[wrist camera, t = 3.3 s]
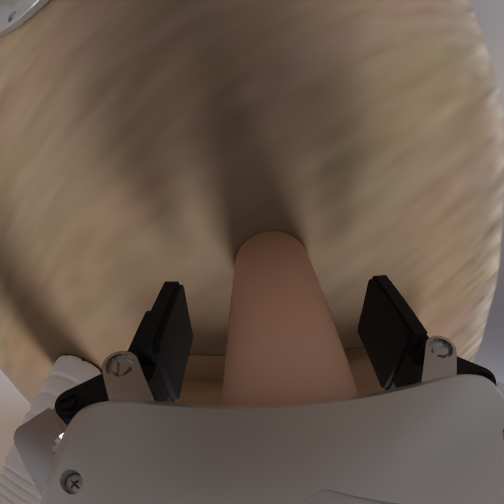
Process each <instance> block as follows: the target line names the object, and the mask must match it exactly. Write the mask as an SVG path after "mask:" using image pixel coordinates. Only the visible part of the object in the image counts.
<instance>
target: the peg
mask: <svg viewBox="0 0 504 504" xmlns="http://www.w3.org/2000/svg"><path fill="white" fill-rule="evenodd" d="M357 395H359V394H358V390H357V387H356V384H355V381H354V378H353V375H352V372H351V369H350V366H349V363H348V360H347V358H346V355H345V352H344V349H343V346H342V343H341V340H340V338H339V335H338V332H337V329H336V327H335V324H334V321H333V318H332V316H331V313H330V310H329V308H328V305H327V302H326V300H325V297H324V295H323V292H322V289H321V287H320V284H319V282H318V279H317V277H316V274H315V272H314V269H313V267H312V264H311V262H310V259H309V257H308V254H307V252H306V250H305V248H304V246H303V245H302V244H301V242H300V241H299V240H297V239H296V238H295V237H293V236H292V235H290V234H287V233H284V232H280V231H266V232H262V233H259V234H256V235H254V236H252V237H251V238H249V239H248V240H247V241H246V242H245V243H244V244H243V245H242V246H241V248H240V249H239V251H238V253H237V256H236V260H235V268H234V278H233V287H232V297H231V307H230V317H229V327H228V337H227V348H226V359H225V370H224V381H223V392H222V404H221V405H266V404H286V403H300V402H311V401H320V400H329V399H337V398H344V397H350V396H357Z"/></svg>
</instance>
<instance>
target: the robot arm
mask: <svg viewBox="0 0 504 504" xmlns="http://www.w3.org/2000/svg"><path fill="white" fill-rule="evenodd" d="M48 1H49V0H0V36H2V35H5V34H7V33H9V32H11V31H12V30H14V29H16V28H17V27H19V26H20V25H22V24H23V23H24V22H25V21H27V20H28V19H29V18H30V17H32V16H33V15H34V14H35V13H36V12H37V11H38V10H40V9H41V8H42V7H43V6H44V5H45V4H46V3H47V2H48ZM358 333H359V335H360V338H361V340H362V342H363V345H364V347H365V349H366V352H367V354H368V356H369V359H370V361H371V364H372V366H373V368H374V371H375V373H376V376H377V378H378V381H379V383H380V386H381V387H382V388H385V390H384V391H379V392H374V393H369V394H363V395H357V396H350V397H344V398H337V399H329V400H320V401H311V402H300V403H286V404H266V405H210V404H189V403H174V402H175V399H179V397H180V393H181V388H182V384H183V379H184V375H185V370H186V366H187V361H188V357H189V352H190V348H191V344H192V339H193V333H192V328H191V323H190V318H189V313H188V308H187V302H186V297H185V291H184V287H183V285H179V282H165V283H164V285H163V287H162V289H161V291H160V293H159V295H158V297H157V299H156V301H155V303H154V305H153V307H152V310H151V311H147V312H146V313H145V315H144V317H143V319H142V321H141V323H140V326H139V328H138V330H137V332H136V334H135V336H134V338H133V341H132V343H131V345H130V347H129V349H128V351H118V352H115V353H113V354H111V355H109V356H108V357H107V358H106V359H105V360H104V361H103V364H102V374H99V375H97V376H95V377H93V378H91V379H89V380H87V381H85V382H83V383H81V384H79V385H77V386H75V387H73V388H71V389H68V390H66V391H64V392H63V393H61V394H60V395H59V396H58V398H57V399H56V401H55V408H53V409H51V408H50V407H49V408H47V409H46V410H44V411H43V412H41V413H40V414H38V415H36V416H35V417H33V418H32V419H30V420H29V421H27V422H26V423H24V424H23V425H21V426H19V427H18V428H17V430H16V431H15V433H14V443H15V445H16V448H17V450H18V452H19V454H20V457H21V459H22V461H23V463H24V465H25V467H26V469H27V471H28V473H29V475H30V477H31V479H32V481H33V482H34V484H35V486H36V488H37V489H38V491H39V493H40V495H41V496H42V498H41V502H40V504H504V384H503V383H501V382H498V384H496V379H495V377H494V375H493V373H491V372H490V371H489V370H488V369H486V368H484V367H481V366H479V365H476V364H474V363H472V362H469V361H467V360H464V359H462V358H459V357H457V353H456V347H455V346H454V344H453V343H452V342H451V341H450V340H449V339H447V338H445V337H442V336H432V337H430V338H429V337H428V336H427V331H426V330H425V328H424V327H423V325H422V324H421V322H420V321H419V319H418V318H417V317H416V315H415V314H414V312H413V311H412V310H411V308H410V307H409V305H408V304H407V303H406V301H405V300H404V298H403V297H402V296H401V294H400V293H399V292H398V290H397V289H396V288H395V286H394V285H393V284H392V282H391V281H390V280H389V279H388V277H387V276H386V275H380V276H373V278H372V279H370V280H369V282H368V286H367V291H366V296H365V300H364V304H363V309H362V313H361V317H360V321H359V325H358Z"/></svg>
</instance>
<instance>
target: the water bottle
mask: <svg viewBox="0 0 504 504" xmlns="http://www.w3.org/2000/svg"><path fill="white" fill-rule="evenodd" d="M99 374H102V373H101V372H100V370H99V369H98V368H96V367H95V366H94V365H92V364H90V363H89V362H87V361H82V359H80V358H78V357H75V356H71V355H67V356H65V355H63V356H60V357H59V358H58V359H57V360H56V362H55V363H54V365H53V367H52V368H51V370H50V372H49V374H48V377H47V378H46V379H45V380H44V382H43V384H42V386H41V388H40V390H39V394H37V395H36V397H35V398H34V400H33V402H32V404H31V407H30V411H29V412H28V413H27V414H26V415H25V417H24V420H23V424H24V423H26V422H27V421H29V420H30V419H32V418H33V417H35V416H36V415H38V414H40V413H41V412H43V411H44V410H46V409H47V408H49V407H50V408H51V409H53V408H55V401H56V399H57V398H58V396H59V395H60V394H61V393H63V392H64V391H66V390H68V389H71V388H73V387H75V386H77V385H79V384H81V383H83V382H85V381H87V380H89V379H91V378H93V377H95V376H97V375H99ZM41 498H42V496H41V495H40V493H39V491H38V489H37V488H36V486H35V484H34V482H33V481H32V479H31V477H30V475H29V473H28V471H27V469H26V467H25V465H24V463H23V461H22V459H21V457H20V454H19V452H18V450H17V448H16V445H15V443H14V444H13V445H12V446H11V447H10V449H9V452H8V454H7V457H6V460H5V466H4V467H3V468H2V474H0V504H40V502H41Z"/></svg>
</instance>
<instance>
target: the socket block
mask: <svg viewBox="0 0 504 504" xmlns="http://www.w3.org/2000/svg"><path fill="white" fill-rule="evenodd" d="M344 352H345V355H346V358H347V360H348V363H349V366H350V369H351V372H352V375H353V378H354V381H355V384H356V387H357V390H358V394H359V395H363V394H369V393H374V392H379V391H384V390H385V388H382V387H381V386H380V383H379V381H378V378H377V376H376V373H375V371H374V368H373V366H372V364H371V361H370V359H369V356H368V354H367V352H366V349H365V347H362V348H354V349H345V350H344ZM225 359H226V356H211V355H189V357H188V361H187V366H186V370H185V375H184V379H183V384H182V388H181V393H180V397H179V399H175V402H174V403H189V404H210V405H221V404H222V392H223V381H224V370H225Z"/></svg>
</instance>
